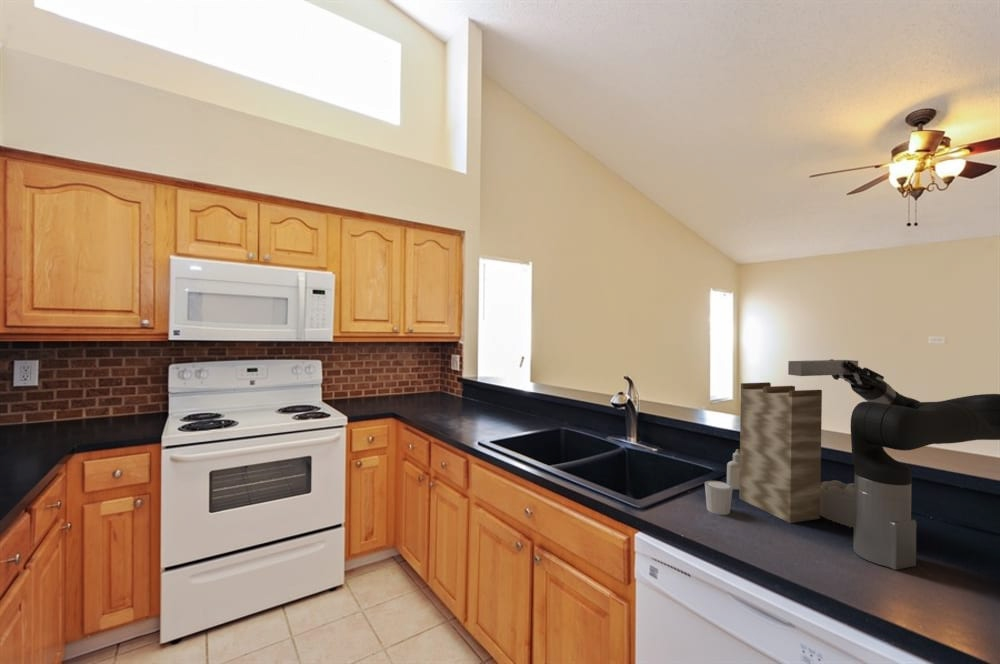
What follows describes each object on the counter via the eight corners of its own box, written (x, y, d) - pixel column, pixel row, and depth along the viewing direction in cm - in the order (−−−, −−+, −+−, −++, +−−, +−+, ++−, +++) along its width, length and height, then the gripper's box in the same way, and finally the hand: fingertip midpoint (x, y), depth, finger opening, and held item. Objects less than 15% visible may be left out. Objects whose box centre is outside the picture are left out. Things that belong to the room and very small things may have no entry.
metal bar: (858, 374, 129) (858, 360, 129) (801, 376, 123) (801, 362, 123) (844, 372, 132) (844, 359, 132) (788, 374, 126) (788, 361, 126)
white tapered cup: (730, 518, 112) (730, 491, 112) (701, 511, 116) (701, 485, 116) (734, 509, 117) (734, 483, 117) (707, 503, 122) (707, 478, 122)
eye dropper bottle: (747, 492, 130) (748, 452, 130) (726, 488, 133) (727, 450, 132) (746, 487, 134) (747, 448, 134) (726, 484, 136) (726, 446, 136)
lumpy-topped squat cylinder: (858, 531, 105) (859, 496, 105) (805, 510, 118) (805, 478, 117) (886, 525, 109) (886, 491, 109) (831, 505, 121) (831, 474, 121)
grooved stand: (820, 518, 112) (821, 390, 112) (790, 522, 109) (791, 391, 109) (766, 495, 128) (768, 382, 127) (739, 498, 125) (740, 383, 125)
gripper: (895, 404, 126) (858, 376, 122) (844, 396, 140) (809, 371, 135) (904, 381, 127) (868, 352, 123) (853, 376, 140) (819, 350, 136)
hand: (837, 362), depth 129 cm, fingers closed on metal bar, 4 cm apart
